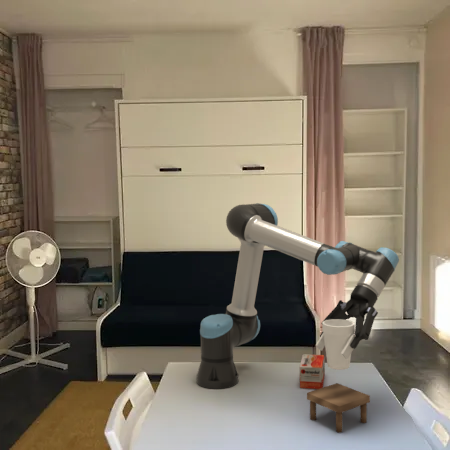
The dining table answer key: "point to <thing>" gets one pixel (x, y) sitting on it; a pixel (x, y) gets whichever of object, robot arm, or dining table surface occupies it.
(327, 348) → the foam cup
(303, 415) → the dining table surface
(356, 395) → the stool
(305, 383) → the medicine box
